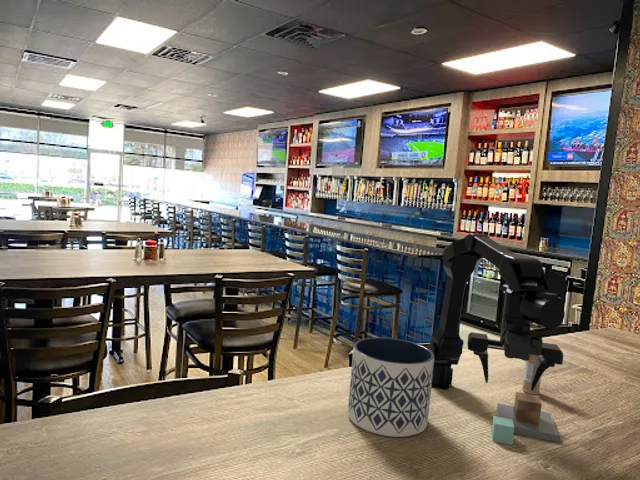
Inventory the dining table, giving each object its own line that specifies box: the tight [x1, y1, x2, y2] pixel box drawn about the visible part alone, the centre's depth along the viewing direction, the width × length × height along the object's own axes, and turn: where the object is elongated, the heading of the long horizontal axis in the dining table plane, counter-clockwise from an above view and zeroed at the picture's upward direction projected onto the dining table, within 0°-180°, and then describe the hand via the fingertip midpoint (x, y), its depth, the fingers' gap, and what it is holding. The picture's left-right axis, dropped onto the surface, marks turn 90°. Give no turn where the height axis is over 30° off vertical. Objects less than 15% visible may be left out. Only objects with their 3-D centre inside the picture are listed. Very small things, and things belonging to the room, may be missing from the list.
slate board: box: [496, 402, 560, 443], centre depth 113 cm, size 12×12×2 cm
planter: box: [347, 336, 434, 438], centre depth 110 cm, size 18×18×16 cm
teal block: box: [491, 415, 515, 446], centre depth 105 cm, size 4×4×4 cm
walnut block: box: [513, 391, 543, 425], centre depth 113 cm, size 5×5×5 cm
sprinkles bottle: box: [521, 355, 542, 395], centre depth 134 cm, size 5×5×13 cm
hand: (508, 386), depth 105 cm, fingers open, 9 cm apart
